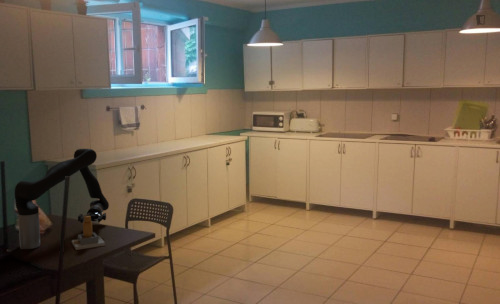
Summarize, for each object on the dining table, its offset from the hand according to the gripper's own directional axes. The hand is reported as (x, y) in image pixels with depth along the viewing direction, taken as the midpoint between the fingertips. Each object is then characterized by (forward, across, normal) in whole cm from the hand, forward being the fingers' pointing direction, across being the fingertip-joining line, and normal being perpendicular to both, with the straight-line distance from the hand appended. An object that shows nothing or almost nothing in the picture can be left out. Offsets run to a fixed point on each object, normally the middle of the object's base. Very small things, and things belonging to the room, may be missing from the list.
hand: (90, 220), depth 248 cm
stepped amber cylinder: (+8, 0, +8) cm, 12 cm away
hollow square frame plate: (+8, 0, +10) cm, 13 cm away
